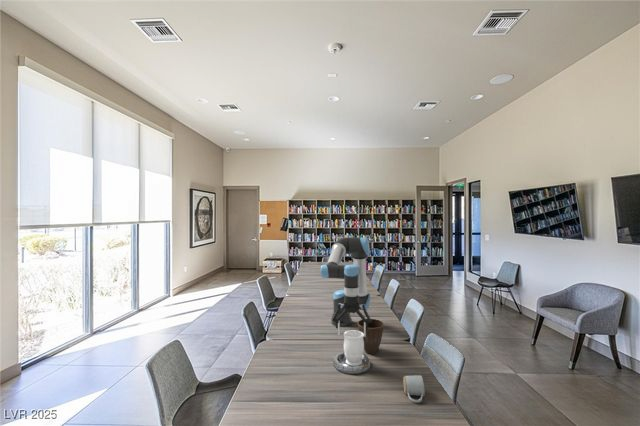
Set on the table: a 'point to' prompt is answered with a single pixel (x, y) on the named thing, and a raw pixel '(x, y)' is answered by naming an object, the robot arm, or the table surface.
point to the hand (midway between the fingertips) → (351, 335)
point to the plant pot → (372, 335)
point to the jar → (353, 347)
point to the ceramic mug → (414, 386)
